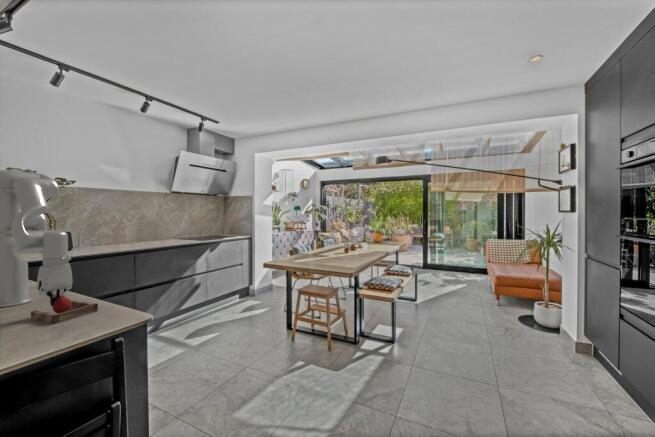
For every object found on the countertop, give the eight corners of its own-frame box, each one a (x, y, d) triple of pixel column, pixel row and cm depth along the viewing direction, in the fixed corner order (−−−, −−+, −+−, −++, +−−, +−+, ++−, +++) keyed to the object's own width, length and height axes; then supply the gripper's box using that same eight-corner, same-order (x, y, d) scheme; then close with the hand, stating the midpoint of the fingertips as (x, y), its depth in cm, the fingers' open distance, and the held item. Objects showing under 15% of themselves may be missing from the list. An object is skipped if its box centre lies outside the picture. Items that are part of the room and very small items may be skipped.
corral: (31, 319, 111) (30, 311, 111) (75, 307, 125) (75, 300, 125) (54, 323, 107) (54, 315, 107) (97, 310, 121) (97, 303, 121)
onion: (58, 318, 113) (58, 297, 113) (49, 316, 114) (48, 296, 114) (75, 313, 118) (75, 293, 118) (66, 311, 120) (65, 292, 120)
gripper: (70, 258, 126) (70, 299, 126) (26, 264, 112) (26, 311, 112) (82, 259, 123) (82, 301, 124) (38, 265, 109) (38, 313, 110)
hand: (56, 306), depth 118 cm, fingers closed
